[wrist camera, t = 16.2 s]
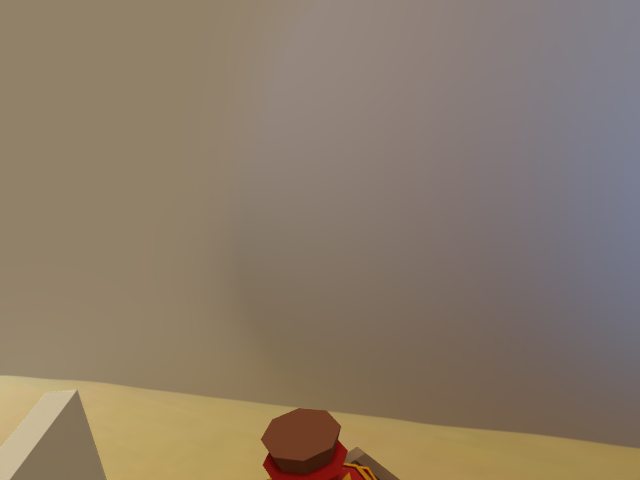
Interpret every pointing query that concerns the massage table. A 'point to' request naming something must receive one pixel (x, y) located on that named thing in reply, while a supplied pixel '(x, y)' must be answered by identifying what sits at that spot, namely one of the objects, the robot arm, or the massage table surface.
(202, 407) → the massage table surface
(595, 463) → the massage table surface
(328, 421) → the potion bottle
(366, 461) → the dolly
